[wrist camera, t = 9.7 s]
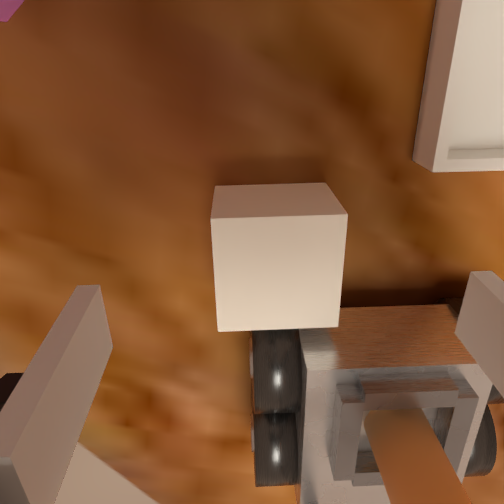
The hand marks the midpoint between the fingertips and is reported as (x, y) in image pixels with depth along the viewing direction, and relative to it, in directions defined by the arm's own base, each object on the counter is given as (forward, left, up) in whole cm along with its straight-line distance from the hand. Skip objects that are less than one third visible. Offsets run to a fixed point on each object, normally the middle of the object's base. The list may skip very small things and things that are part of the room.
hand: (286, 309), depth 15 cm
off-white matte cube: (+1, 0, -9) cm, 9 cm away
